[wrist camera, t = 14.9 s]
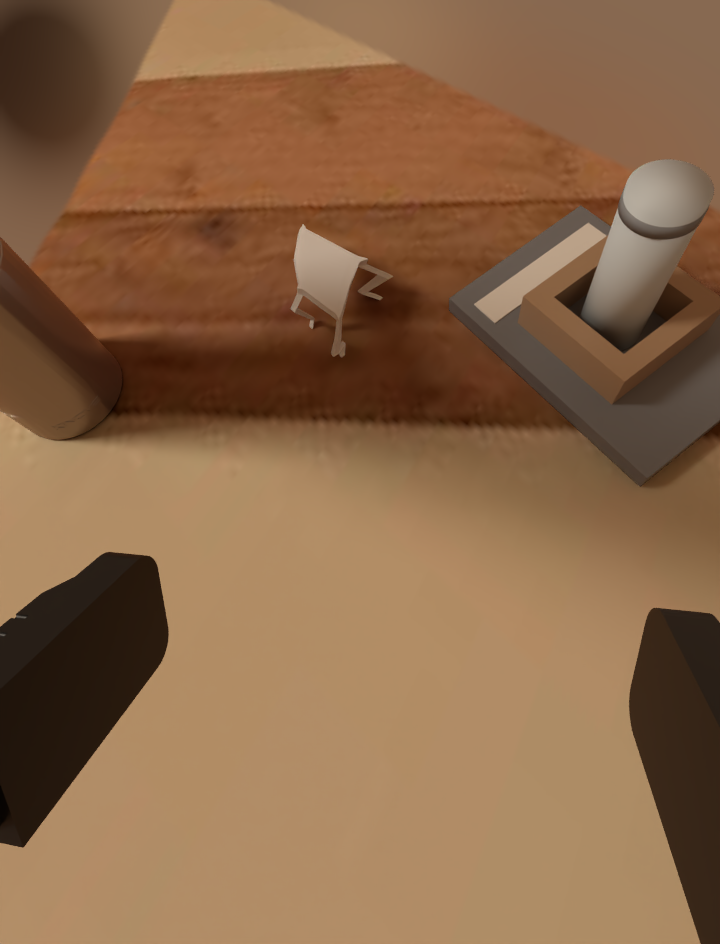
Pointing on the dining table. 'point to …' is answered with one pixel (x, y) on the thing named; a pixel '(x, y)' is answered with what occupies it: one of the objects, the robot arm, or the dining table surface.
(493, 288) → the assembly jig
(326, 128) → the dining table surface
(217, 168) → the dining table surface
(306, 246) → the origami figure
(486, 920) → the dining table surface
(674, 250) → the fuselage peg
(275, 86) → the dining table surface
